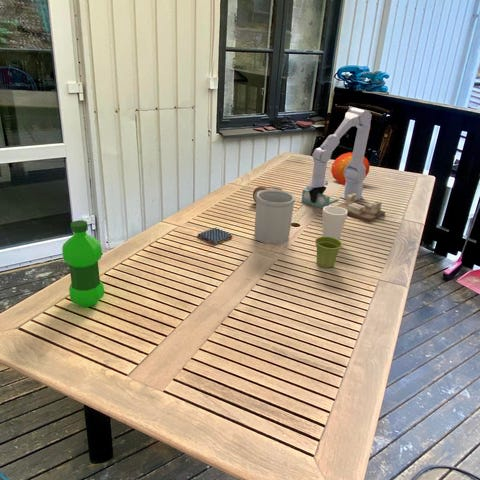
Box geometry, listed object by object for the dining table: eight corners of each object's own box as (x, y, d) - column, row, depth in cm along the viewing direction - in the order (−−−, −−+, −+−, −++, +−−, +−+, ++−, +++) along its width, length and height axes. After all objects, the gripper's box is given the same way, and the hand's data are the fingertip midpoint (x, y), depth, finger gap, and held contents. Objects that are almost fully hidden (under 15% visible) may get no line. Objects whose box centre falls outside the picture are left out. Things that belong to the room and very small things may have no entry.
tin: (284, 204, 209) (285, 187, 205) (284, 207, 206) (285, 189, 202) (252, 202, 210) (253, 185, 206) (251, 204, 207) (253, 187, 203)
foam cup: (345, 238, 178) (350, 208, 172) (339, 247, 170) (344, 216, 164) (322, 233, 181) (326, 204, 175) (315, 242, 173) (320, 211, 168)
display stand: (349, 203, 215) (351, 191, 212) (384, 215, 203) (387, 202, 201) (332, 209, 206) (334, 197, 203) (369, 222, 194) (371, 210, 192)
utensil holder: (297, 237, 176) (303, 196, 168) (274, 249, 166) (278, 205, 158) (269, 226, 185) (273, 186, 177) (245, 236, 175) (248, 194, 167)
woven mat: (195, 238, 172) (195, 233, 171) (215, 230, 179) (215, 226, 178) (213, 247, 166) (214, 242, 165) (233, 239, 173) (233, 234, 172)
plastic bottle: (86, 316, 122) (77, 234, 112) (61, 303, 127) (49, 224, 116) (113, 300, 130) (107, 222, 119) (89, 288, 135) (80, 213, 124)
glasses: (314, 196, 221) (315, 185, 219) (337, 204, 213) (339, 193, 210) (301, 201, 215) (302, 189, 212) (325, 209, 206) (327, 197, 203)
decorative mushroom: (334, 174, 257) (337, 149, 250) (369, 181, 249) (374, 155, 242) (325, 181, 245) (329, 154, 239) (363, 188, 237) (368, 161, 230)
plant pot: (340, 260, 160) (343, 239, 156) (336, 272, 152) (340, 250, 148) (314, 255, 163) (317, 234, 159) (309, 267, 155) (312, 245, 151)
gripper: (320, 169, 212) (317, 196, 218) (302, 174, 202) (299, 202, 208) (333, 173, 207) (329, 200, 213) (315, 178, 198) (311, 206, 204)
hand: (315, 201), depth 211 cm, fingers open, 3 cm apart
